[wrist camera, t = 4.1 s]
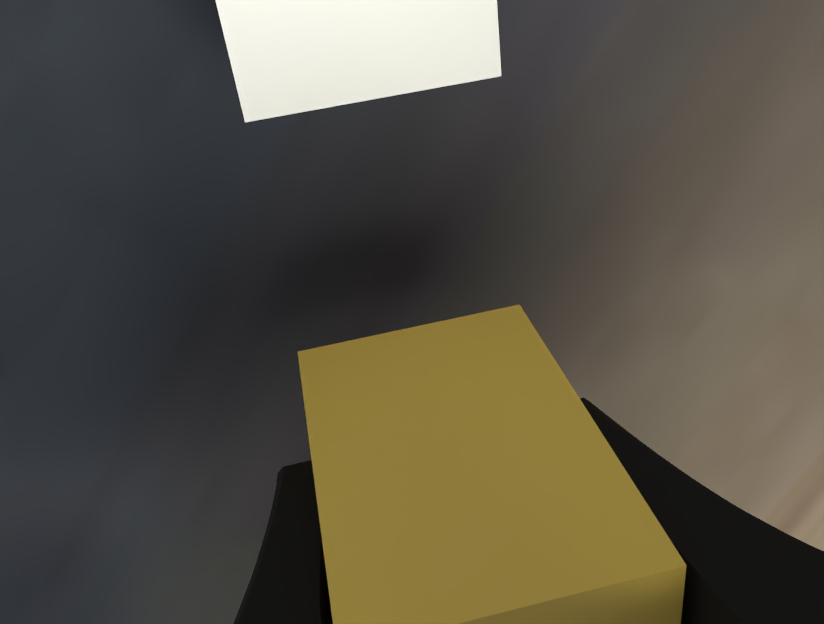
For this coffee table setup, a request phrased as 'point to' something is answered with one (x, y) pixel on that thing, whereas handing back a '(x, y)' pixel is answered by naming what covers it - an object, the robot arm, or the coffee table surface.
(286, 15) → the off-white bar
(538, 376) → the mustard bar
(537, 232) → the coffee table surface
